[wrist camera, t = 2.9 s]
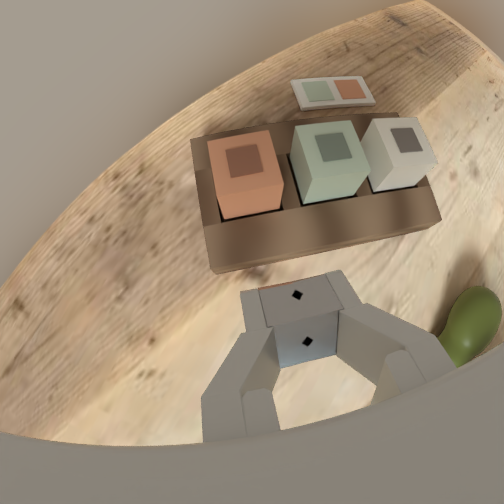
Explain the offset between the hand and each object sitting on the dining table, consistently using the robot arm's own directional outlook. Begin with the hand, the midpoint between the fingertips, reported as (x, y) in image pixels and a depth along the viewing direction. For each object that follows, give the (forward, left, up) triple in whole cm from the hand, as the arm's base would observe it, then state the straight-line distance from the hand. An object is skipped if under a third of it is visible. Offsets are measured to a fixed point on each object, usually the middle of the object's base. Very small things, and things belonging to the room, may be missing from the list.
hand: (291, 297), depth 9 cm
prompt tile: (-20, -14, -17) cm, 30 cm away
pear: (-13, +14, -17) cm, 25 cm away
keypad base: (-10, -6, -17) cm, 21 cm away
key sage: (-10, -6, -14) cm, 18 cm away
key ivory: (-16, -4, -14) cm, 22 cm away
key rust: (-4, -9, -14) cm, 17 cm away
